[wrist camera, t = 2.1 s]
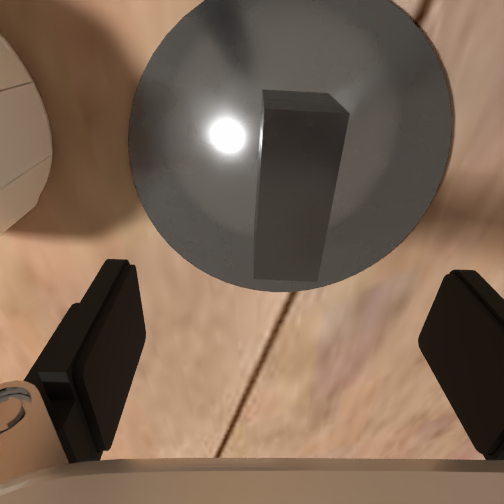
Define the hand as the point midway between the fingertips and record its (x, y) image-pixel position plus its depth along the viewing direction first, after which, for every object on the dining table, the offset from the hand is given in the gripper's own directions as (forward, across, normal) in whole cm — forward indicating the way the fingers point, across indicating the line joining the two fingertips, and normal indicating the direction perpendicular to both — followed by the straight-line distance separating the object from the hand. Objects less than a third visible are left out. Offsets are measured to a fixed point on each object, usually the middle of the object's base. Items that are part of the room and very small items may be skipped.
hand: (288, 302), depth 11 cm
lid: (+11, -1, -1) cm, 11 cm away
